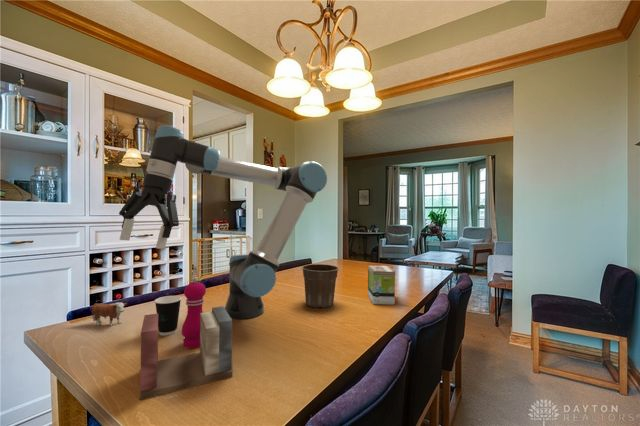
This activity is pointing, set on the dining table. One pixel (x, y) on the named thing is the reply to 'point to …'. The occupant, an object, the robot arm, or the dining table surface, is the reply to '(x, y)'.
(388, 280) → the tea box
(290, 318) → the dining table surface
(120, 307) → the bull figurine
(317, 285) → the plant pot
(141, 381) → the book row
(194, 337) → the pepper mill
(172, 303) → the dixie cup
